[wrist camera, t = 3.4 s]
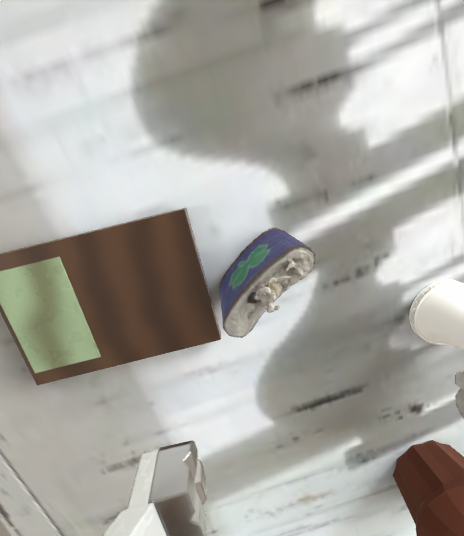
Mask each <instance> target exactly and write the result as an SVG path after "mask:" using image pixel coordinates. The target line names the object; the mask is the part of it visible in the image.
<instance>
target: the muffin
mask: <svg viewBox="0 0 464 536" xmlns="http://www.w3.org/2000/svg"><path fill="white" fill-rule="evenodd" d="M393 476H394V479H395V481H396V483H397V485H398V487H399V489H400V492H401V494H402V496H403V498H404V500H405V502H406V505H407V507H408V509H409V511H410V513H411V515H412V518H413V520H414V522H415V524H416V533H417V536H464V457H463V456H462V455H461V454H459V453H458V452H457V451H456V450H455V449H453V448H452V447H451V446H450V445H446V444H440V443H438V442H435V441H433V440H432V441H429V442H426V443H423V444H418V445H413V446H412V447H411V448H410V449H409V450H408V451H407V452H406V453H405V454H403V455H402V456H401V457H400V458H398V459H397V464H396V469H395V471H394V474H393Z"/></svg>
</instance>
